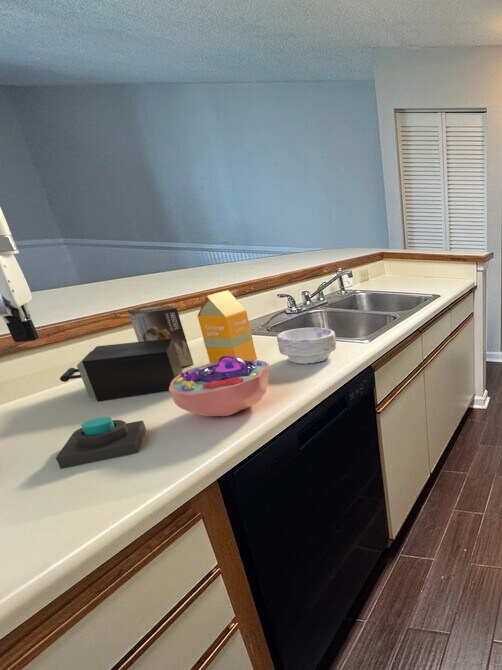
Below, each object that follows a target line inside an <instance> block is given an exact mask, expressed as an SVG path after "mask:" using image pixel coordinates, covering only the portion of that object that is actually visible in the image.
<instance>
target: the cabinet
mask: <svg viewBox="0 0 502 670" xmlns="http://www.w3.org/2000/svg"><path fill="white" fill-rule="evenodd" d="M91 351H92V352H91V353H90V354H89V355H88V356H87V357H86V358H85V359H84V358H83V359H84V360H83V359H82V360H83V361H82V360H81V361H82V363H83V365H84V368H85V370H86V373H87V376H88V378H89V381H90V383H91V386H92V388H93V391H94V394H95V396H96V397H95V398H96V399H95V400H96V401H97V402H104V401H111V400H117V399H124V398H130V397H138V396H144V395H150V394H159V393H163V392H170V391H169V387H170V384H171V382H172V380H173V379H174V378H175V377H177V376H178V375H180V374H181V373H183V372H184V371H183V369H182V367H181V365H180V362H179V358H178V355H177V352H176V348H175V345H174V342H173V338H171V339H162V340H152V341H142V342H138V341H134V342H124V343H115V344H105V345H96V346H95V347H94V348H93V349H92V350H91Z"/></svg>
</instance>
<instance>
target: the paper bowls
mask: <svg viewBox="0 0 502 670" xmlns="http://www.w3.org/2000/svg"><path fill="white" fill-rule="evenodd" d="M276 339H277V346H278V351H279V354H281V355H284V356H286V357H288V359H289V360H290V361H291V362H292V363H295V364H301V365H303V364H304V365H308V363H310V364H316V362H317V363H320V361H321V362H323V361H325V360H327V359H328V358H329V357H330V355H331V353H332V352H334V351H336V350H337V341H336V339H337V338H336V333H335V331H334V330H333V329H331V328H325V327H300V328H293V329H287V330H284V331H282V332H279V333H278V334H276Z"/></svg>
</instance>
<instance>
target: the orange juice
mask: <svg viewBox="0 0 502 670" xmlns="http://www.w3.org/2000/svg"><path fill="white" fill-rule="evenodd" d="M247 312H248V311H247V309H246V308H245V307H244V306H243V305H242V304H241V303H240V301H238V300H237V299H236V297H235V296H234V294H232V293H231V292H230V290H229V289H226V290H222V291H221V290H220V291H217V292H213V293H210V294H206V296H205V298H204V300H203V303H202V305H201V307H200V309H199V311H198V314H197V319H198V323H199V327H200V330H201V335H202V339H203V342H204V346H205V349H206V353H207V357H208V361H209V364H211V363H217V362H219V359H220V358H221V357H223V356H226V355H233V356H236V357H239V358H241V359H242V360H258V357H257V353H256V348H255V344H254V339H253V334H252V330H251V326H250V321H249V317H248V313H247Z"/></svg>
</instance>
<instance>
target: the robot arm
mask: <svg viewBox="0 0 502 670" xmlns="http://www.w3.org/2000/svg"><path fill="white" fill-rule="evenodd" d="M16 254H20V252H19V249H18V246H17V244H16V242H15V239H14V236H13V235H12V232H11V230H10V226H9V224H8V222H7V219H6V217H5V215H4V212H3V210H2V207H1V206H0V317H1V318H2V319H3V321H4V323H5V324H6V327H7V329H8V331H9V333H10V336H11V338H12V340H13V341H14V342H15V343H22V342H33V341H34V342H35V341H37V340H38V339H39V338H40V336H39V334H38V331H37V329H36V327H35V324H34V322H33V319H32V316H31V314H30V311H29V309H28V303H29V302H31V301H32V299H33V296H32V292H31V289H30V287H29V283H28V282H27V280H26V277H25V275H24V273H23V270H22V268H21V267H20V265H19V262H18V261H17V259H16V256H15V255H16Z"/></svg>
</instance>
